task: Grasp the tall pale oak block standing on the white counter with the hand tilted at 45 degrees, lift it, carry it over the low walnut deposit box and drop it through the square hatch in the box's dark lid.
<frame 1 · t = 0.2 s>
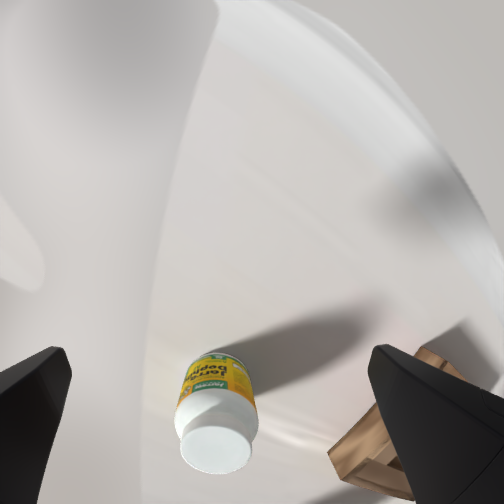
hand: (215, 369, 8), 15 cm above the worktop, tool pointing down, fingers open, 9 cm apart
deposit box: (411, 425, 25), on the worktop
supplement bottle: (218, 378, 24), on the worktop
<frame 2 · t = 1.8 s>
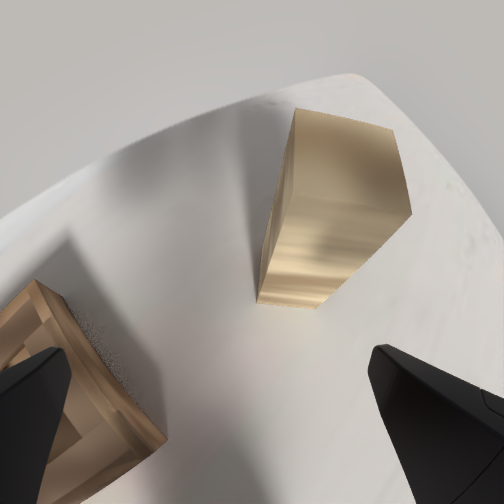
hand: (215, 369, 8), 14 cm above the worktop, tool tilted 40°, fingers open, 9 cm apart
oak block: (288, 277, 23), on the worktop
deposit box: (51, 413, 17), on the worktop
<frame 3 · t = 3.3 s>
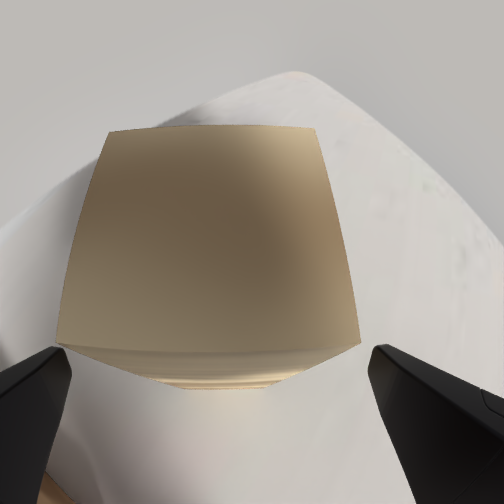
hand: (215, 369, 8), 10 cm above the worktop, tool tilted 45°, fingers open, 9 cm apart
oak block: (222, 352, 17), on the worktop
when the fingers open (12 cm above the worktop, at t = 8.2 s): oak block drops 5 cm, resting on deposit box.
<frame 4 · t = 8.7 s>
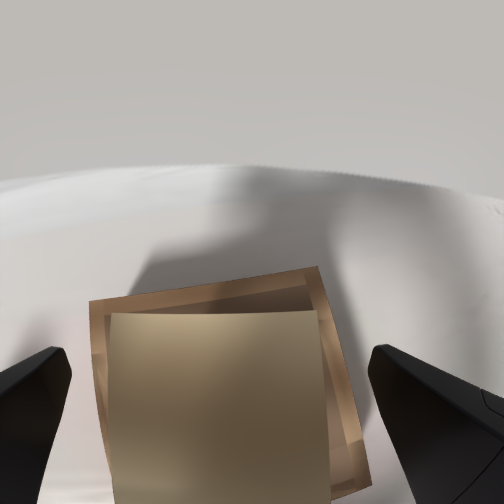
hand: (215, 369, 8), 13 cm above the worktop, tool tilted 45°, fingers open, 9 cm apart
oak block: (225, 405, 18), point 1 cm above the worktop, touching deposit box
deposit box: (224, 405, 18), on the worktop
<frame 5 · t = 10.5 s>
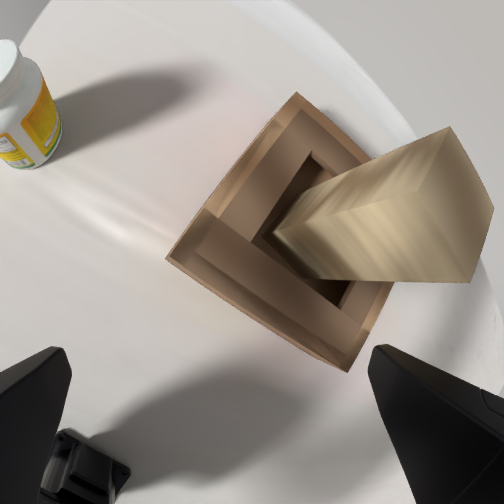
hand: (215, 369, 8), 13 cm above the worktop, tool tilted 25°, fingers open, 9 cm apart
oak block: (300, 235, 23), point 1 cm above the worktop, touching deposit box
deposit box: (295, 236, 23), on the worktop
supplement bottle: (34, 139, 17), on the worktop
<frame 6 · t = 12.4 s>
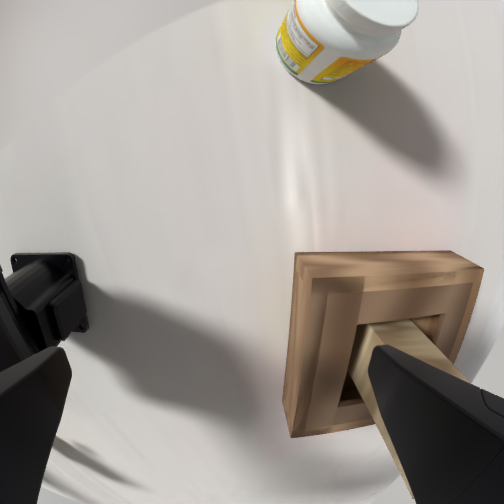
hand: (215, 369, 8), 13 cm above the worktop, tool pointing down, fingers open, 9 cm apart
oak block: (373, 336, 23), point 1 cm above the worktop, touching deposit box
deposit box: (370, 331, 23), on the worktop
supplement bottle: (313, 51, 17), on the worktop
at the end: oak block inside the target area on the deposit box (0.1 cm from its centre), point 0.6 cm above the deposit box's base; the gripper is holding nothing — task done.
